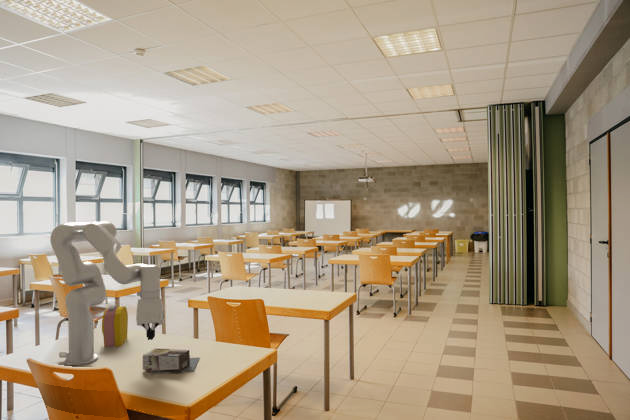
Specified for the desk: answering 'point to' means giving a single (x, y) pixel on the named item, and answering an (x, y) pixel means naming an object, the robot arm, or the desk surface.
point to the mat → (188, 369)
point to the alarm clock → (114, 325)
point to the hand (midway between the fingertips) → (150, 338)
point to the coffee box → (166, 360)
